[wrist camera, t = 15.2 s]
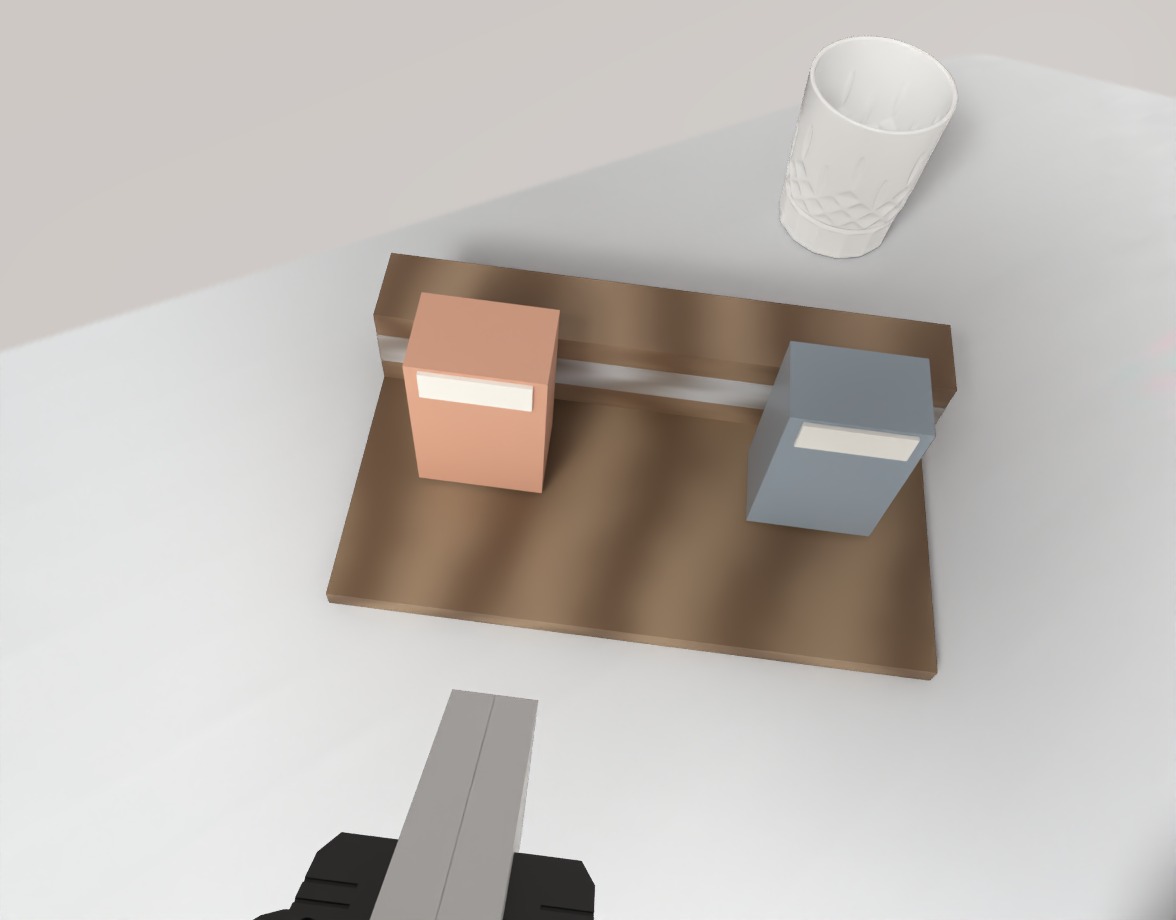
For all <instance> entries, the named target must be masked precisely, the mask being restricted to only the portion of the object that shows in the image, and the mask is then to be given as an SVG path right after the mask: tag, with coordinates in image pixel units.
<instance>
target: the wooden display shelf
mask: <svg viewBox="0 0 1176 920" xmlns="http://www.w3.org/2000/svg"><path fill="white" fill-rule="evenodd" d="M422 292H424V293H432V294H439V295H447V296H455V297H462V298H470V299H478V300H486V301H493V302H501V303H509V304H517V305H524V306H532V307H540V308H547V309H555V310H560V316H559V332H558V347H557V362H556V377H555V392H554V407H553V423H552V430H551V437H550V443H549V450H548V456H547V463H546V469H545V475H544V482H543V488H542V493H536V492H528V491H521V490H513V489H505V488H497V487H490V486H482V485H474V484H467V483H459V482H451V481H443V480H436V479H428V478H420V477H419V473H418V466H417V460H416V453H415V447H414V440H413V433H412V427H411V420H410V413H409V407H408V400H407V394H406V387H405V380H404V374H403V367H402V366H403V362H404V358H405V354H406V350H407V346H408V343H409V339H410V335H411V331H412V327H413V323H414V319H415V316H416V312H417V308H418V304H419V300H420V296H421V293H422ZM373 315H374V321H375V326H376V332H377V340H378V345H379V351H380V356H381V360H382V366H383V371H384V381H383V384H382V388H381V392H380V395H379V399H378V403H377V406H376V410H375V414H374V418H373V421H372V425H371V429H370V432H369V436H368V440H367V444H366V447H365V451H364V455H363V458H362V462H361V466H360V469H359V473H358V477H357V481H356V484H355V488H354V492H353V495H352V499H351V503H350V507H349V510H348V514H347V518H346V521H345V525H344V529H343V532H342V536H341V540H340V544H339V547H338V551H337V555H336V558H335V562H334V566H333V570H332V573H331V577H330V581H329V584H328V588H327V592H326V595H327V598H328V600H329V602H330V603H337V604H345V605H353V606H361V607H368V608H376V609H384V610H391V611H399V612H407V613H414V614H422V615H430V616H438V617H445V618H453V619H461V620H468V621H476V622H484V623H491V624H499V625H507V626H515V627H522V628H530V629H538V630H545V631H553V632H561V633H568V634H576V635H584V636H592V637H599V638H607V639H615V640H622V641H630V642H638V643H646V644H653V645H661V646H669V647H676V648H684V649H692V650H699V651H707V652H715V653H723V654H730V655H738V656H746V657H753V658H761V659H769V660H776V661H784V662H792V663H800V664H807V665H815V666H823V667H830V668H838V669H846V670H853V671H861V672H869V673H877V674H884V675H892V676H900V677H907V678H915V679H923V680H931V679H932V678H933V677H934V676H935V675H936V674H937V660H936V647H935V634H934V621H933V607H932V594H931V581H930V567H929V554H928V541H927V528H926V514H925V501H924V488H923V475H922V461H921V459H920V460H919V462H918V463H917V465H916V466H915V468H914V469H913V471H912V472H911V474H910V475H909V477H908V478H907V480H906V481H905V483H904V484H903V486H902V487H901V489H900V490H899V492H898V493H897V495H896V496H895V498H894V499H893V501H892V502H891V504H890V505H889V507H888V508H887V510H886V511H885V513H884V514H883V516H882V517H881V519H880V520H879V522H878V523H877V525H876V526H875V528H874V529H873V531H872V532H871V534H870V535H869V536H861V535H853V534H846V533H838V532H830V531H822V530H815V529H807V528H799V527H792V526H784V525H776V524H768V523H761V522H753V521H746V507H747V475H748V451H749V448H750V445H751V443H752V440H753V438H754V435H755V432H756V430H757V427H758V425H759V422H760V419H761V417H762V414H763V411H764V409H765V406H766V404H767V401H768V398H769V396H770V393H771V391H772V388H773V385H774V383H775V380H776V378H777V375H778V372H779V370H780V367H781V364H782V362H783V359H784V357H785V354H786V351H787V349H788V346H789V344H790V341H796V342H803V343H811V344H819V345H827V346H834V347H842V348H850V349H858V350H865V351H873V352H881V353H888V354H896V355H904V356H912V357H919V358H927V359H929V364H930V376H931V387H932V399H933V411H934V422H935V424H936V422H937V421H938V419H939V418H940V416H941V415H942V413H943V412H944V410H945V408H946V406H947V405H948V403H949V402H950V400H951V399H952V397H953V396H954V394H955V392H956V391H957V387H956V377H955V367H954V357H953V347H952V337H951V328H950V325H944V324H937V323H929V322H921V321H913V320H906V319H898V318H890V317H883V316H875V315H867V314H859V313H852V312H844V311H836V310H828V309H821V308H813V307H805V306H798V305H790V304H782V303H774V302H767V301H759V300H751V299H743V298H736V297H728V296H720V295H713V294H705V293H697V292H689V291H682V290H674V289H666V288H658V287H651V286H643V285H635V284H628V283H620V282H612V281H604V280H597V279H589V278H581V277H573V276H566V275H558V274H550V273H543V272H535V271H527V270H519V269H512V268H504V267H496V266H488V265H481V264H473V263H465V262H458V261H450V260H442V259H434V258H427V257H419V256H411V255H403V254H396V253H391V256H390V259H389V263H388V266H387V269H386V273H385V276H384V280H383V283H382V287H381V290H380V294H379V297H378V301H377V304H376V308H375V311H374V314H373Z"/></svg>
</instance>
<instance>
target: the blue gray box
mask: <svg viewBox="0 0 1176 920" xmlns="http://www.w3.org/2000/svg"><path fill="white" fill-rule="evenodd" d="M935 436H936V434H935V422H934V411H933V399H932V387H931V376H930V364H929V359H927V358H919V357H912V356H904V355H896V354H888V353H881V352H873V351H865V350H858V349H850V348H842V347H834V346H827V345H819V344H811V343H803V342H796V341H790V344H789V346H788V349H787V351H786V354H785V357H784V359H783V362H782V364H781V367H780V370H779V372H778V375H777V378H776V380H775V383H774V385H773V388H772V391H771V393H770V396H769V398H768V401H767V404H766V406H765V409H764V411H763V414H762V417H761V419H760V422H759V425H758V427H757V430H756V432H755V435H754V438H753V440H752V443H751V445H750V448H749V451H748V475H747V507H746V521H753V522H761V523H768V524H776V525H784V526H792V527H799V528H807V529H815V530H822V531H830V532H838V533H846V534H853V535H861V536H869V535H870V534H871V532H872V531H873V529H874V528H875V526H876V525H877V523H878V522H879V520H880V519H881V517H882V516H883V514H884V513H885V511H886V510H887V508H888V507H889V505H890V504H891V502H892V501H893V499H894V498H895V496H896V495H897V493H898V492H899V490H900V489H901V487H902V486H903V484H904V483H905V481H906V480H907V478H908V477H909V475H910V474H911V472H912V471H913V469H914V468H915V466H916V465H917V463H918V462H919V460H920V459H921V457H922V456H923V454H924V453H925V451H926V450H927V448H928V447H929V445H930V444H931V442H932V441H933V439H934V438H935Z"/></svg>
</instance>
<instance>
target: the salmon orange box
mask: <svg viewBox="0 0 1176 920" xmlns="http://www.w3.org/2000/svg"><path fill="white" fill-rule="evenodd" d="M559 316H560V310H555V309H547V308H540V307H532V306H524V305H517V304H509V303H501V302H493V301H486V300H478V299H470V298H462V297H455V296H447V295H439V294H432V293H424V292H422V293H421V296H420V300H419V304H418V308H417V312H416V316H415V319H414V323H413V327H412V331H411V335H410V339H409V343H408V346H407V350H406V354H405V358H404V362H403V366H402V367H403V374H404V380H405V387H406V394H407V400H408V407H409V413H410V420H411V427H412V433H413V440H414V447H415V453H416V460H417V466H418V473H419V477H420V478H428V479H436V480H443V481H451V482H459V483H467V484H474V485H482V486H490V487H497V488H505V489H513V490H521V491H528V492H536V493H542V488H543V482H544V475H545V469H546V463H547V456H548V450H549V443H550V437H551V430H552V423H553V407H554V392H555V377H556V362H557V347H558V332H559Z"/></svg>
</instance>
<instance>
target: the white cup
mask: <svg viewBox="0 0 1176 920" xmlns="http://www.w3.org/2000/svg"><path fill="white" fill-rule="evenodd" d="M957 102H958V92H957V87H956V84H955V82H954V80H953V78H952V76H951V75H950V73H949V72H948V71H947V69H946V68H945V67H944V66H943V65H942V64H941V63H940V62H939V61H938V60H936V59H935V58H934V57H932V56H931V55H929V54H928V53H926V52H924V51H923V50H921V49H919V48H917V47H915V46H913V45H910V44H908V43H905V42H902V41H898V40H895V39H891V38H886V37H878V36H856V37H849V38H845V39H841V40H838V41H836V42H833V43H831V44H829V45H828V46H826V47H825V48H824V49H822V50H821V51H820V52H819V53H818V54H817V55H816V57H815V58H814V60H813V62H812V65H811V68H810V72H809V77H808V81H807V85H806V89H805V93H804V97H803V101H802V105H801V109H800V113H799V117H798V121H797V125H796V129H795V133H794V137H793V142H792V147H791V153H790V156H789V160H788V165H787V171H786V179H785V183H784V187H783V191H782V195H781V199H780V220H781V223H782V224H783V226H784V227H785V229H786V230H787V232H788V233H789V235H790V236H791V238H792V239H793V240H795V241H796V242H798V243H799V244H801V245H802V246H804V247H805V248H807V249H808V250H810V251H811V252H813V253H817V254H821V255H825V256H829V257H833V258H850V257H861V256H863V255H865V254H866V253H868V252H870V251H872V250H874V249H876V248H877V247H879V246H880V244H881V243H882V241H883V239H884V237H885V235H886V234H887V232H888V230H889V228H890V226H891V224H892V222H893V220H894V219H895V217H896V215H897V214H898V212H899V211H900V210H901V209H902V208H903V206H904V204H905V202H906V200H907V198H908V197H909V195H910V194H911V192H912V191H913V189H914V187H915V185H916V183H917V181H918V179H919V177H920V175H921V173H922V171H923V170H924V168H925V166H926V164H927V162H928V160H929V158H930V157H931V155H932V153H933V151H934V149H935V147H936V145H937V143H938V141H939V139H940V137H941V135H942V133H943V132H944V130H945V128H946V126H947V124H948V122H949V120H950V118H951V116H952V115H953V113H954V111H955V109H956V106H957Z"/></svg>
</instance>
